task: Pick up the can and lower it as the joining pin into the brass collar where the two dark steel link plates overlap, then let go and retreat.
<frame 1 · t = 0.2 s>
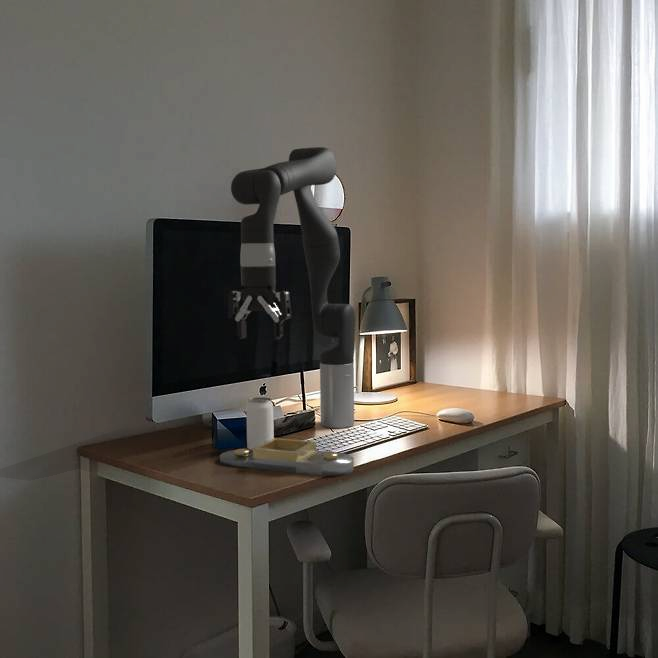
hand: (259, 338, 169), 28 cm above the table, fingers open, 8 cm apart
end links: (285, 464, 173), on the table
can: (260, 449, 187), on the table
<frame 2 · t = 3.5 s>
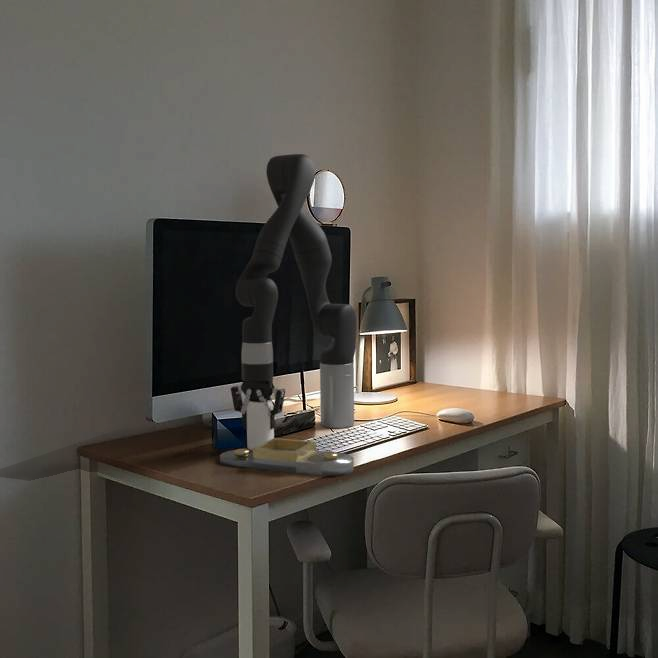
hand: (258, 429, 187), 5 cm above the table, fingers closed on can, 5 cm apart
can: (260, 449, 187), on the table, touching gripper
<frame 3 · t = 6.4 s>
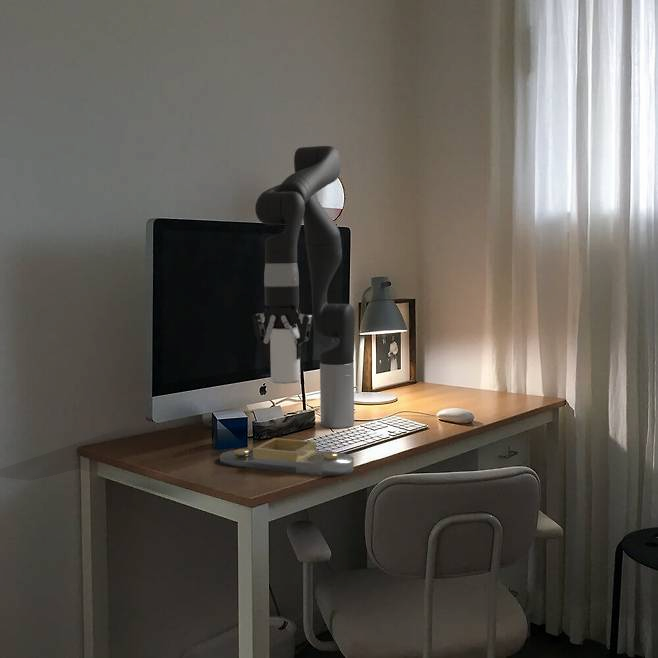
hand: (283, 360, 170), 23 cm above the table, fingers closed on can, 5 cm apart
can: (285, 382, 171), point 19 cm above the table, touching gripper
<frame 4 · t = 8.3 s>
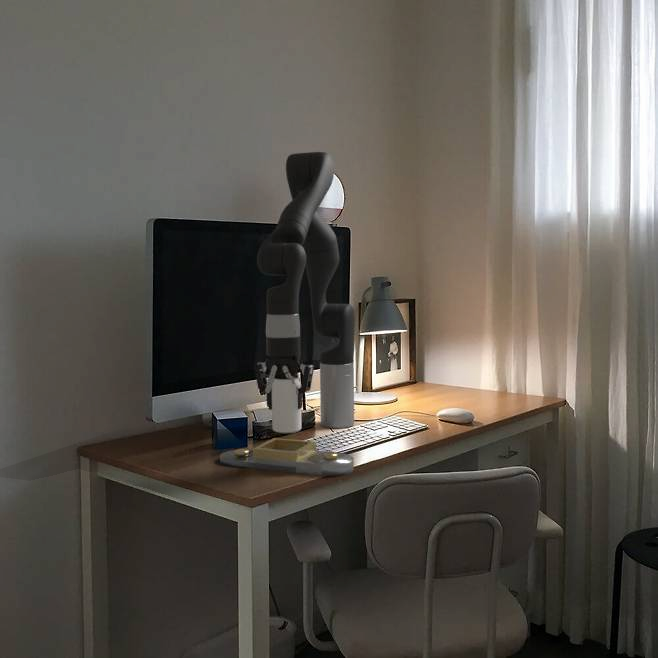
hand: (284, 409, 171), 12 cm above the table, fingers closed on can, 5 cm apart
can: (287, 431, 172), point 8 cm above the table, touching gripper
when the fingers open (9 cm above the table, at t = 9.5 s): can drops 2 cm, resting on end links.
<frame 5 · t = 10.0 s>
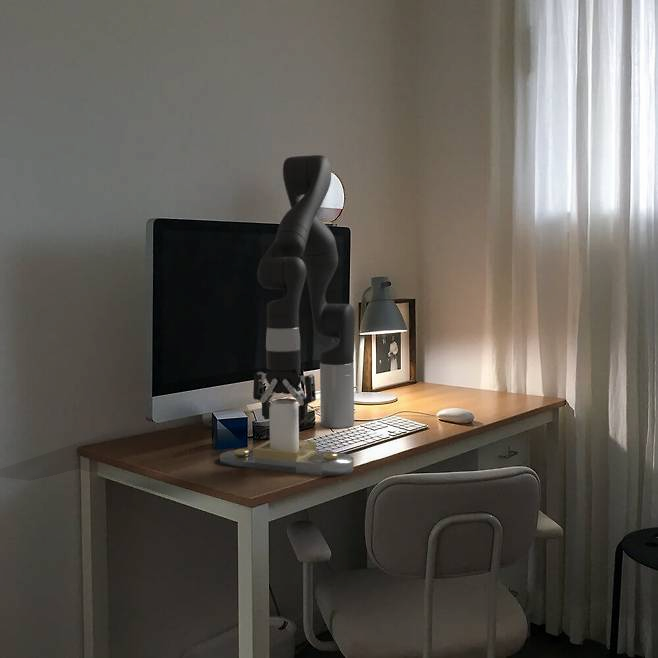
hand: (284, 420, 172), 10 cm above the table, fingers open, 8 cm apart
can: (284, 454, 173), point 2 cm above the table, touching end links
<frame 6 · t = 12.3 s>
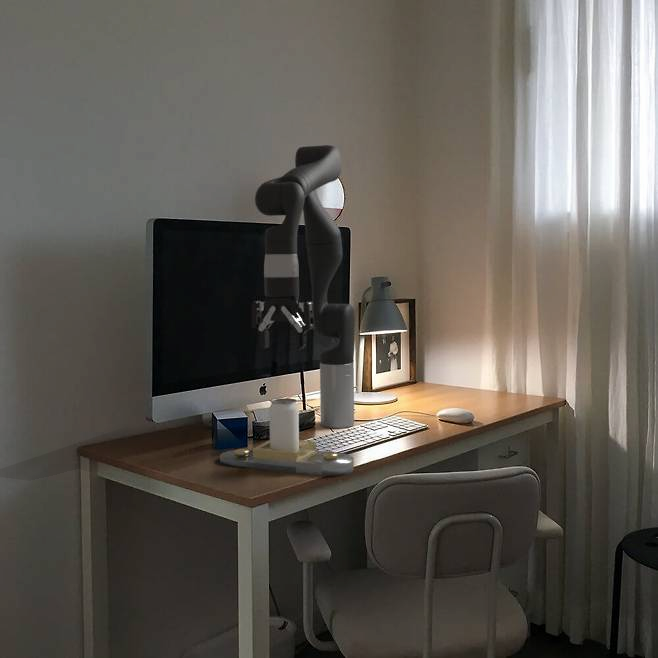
hand: (283, 348, 170), 26 cm above the table, fingers open, 8 cm apart
nothing on the table moved.
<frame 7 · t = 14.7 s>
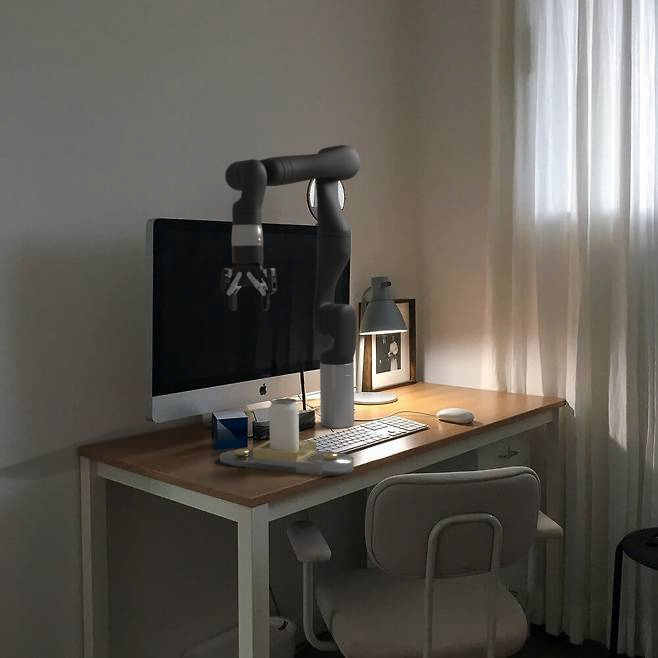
hand: (249, 311, 188), 33 cm above the table, fingers open, 8 cm apart
nothing on the table moved.
at the end: can 0.3 cm from the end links (horizontally); can point 2.2 cm above the table; can tilted 0° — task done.
